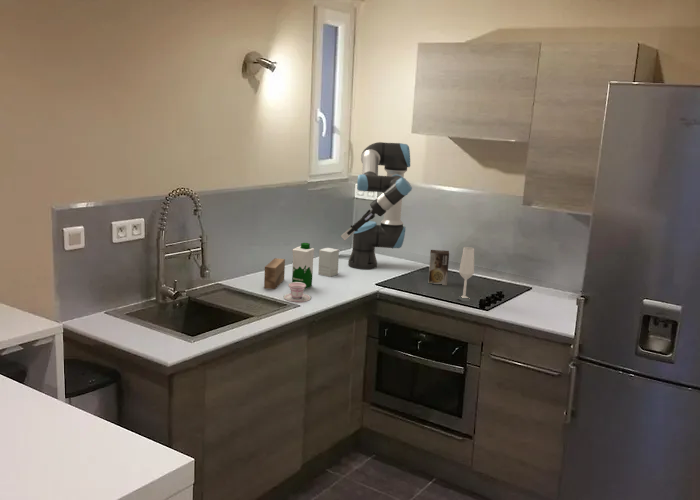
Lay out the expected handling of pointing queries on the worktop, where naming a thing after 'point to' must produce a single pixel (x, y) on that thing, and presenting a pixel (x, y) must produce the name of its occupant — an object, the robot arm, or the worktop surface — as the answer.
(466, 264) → the champagne flute
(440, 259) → the coffee box
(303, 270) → the soya milk
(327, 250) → the supplement box
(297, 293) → the teacup
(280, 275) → the board
